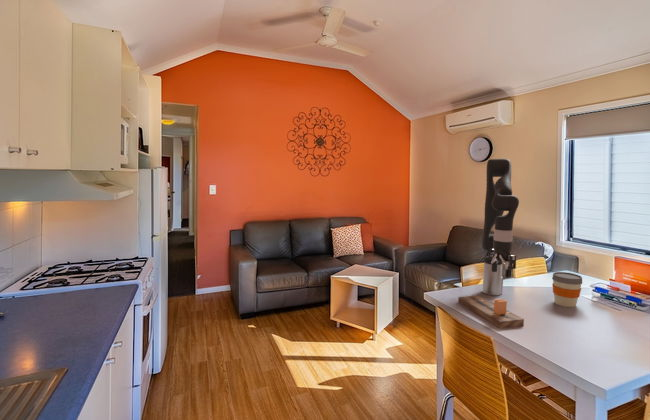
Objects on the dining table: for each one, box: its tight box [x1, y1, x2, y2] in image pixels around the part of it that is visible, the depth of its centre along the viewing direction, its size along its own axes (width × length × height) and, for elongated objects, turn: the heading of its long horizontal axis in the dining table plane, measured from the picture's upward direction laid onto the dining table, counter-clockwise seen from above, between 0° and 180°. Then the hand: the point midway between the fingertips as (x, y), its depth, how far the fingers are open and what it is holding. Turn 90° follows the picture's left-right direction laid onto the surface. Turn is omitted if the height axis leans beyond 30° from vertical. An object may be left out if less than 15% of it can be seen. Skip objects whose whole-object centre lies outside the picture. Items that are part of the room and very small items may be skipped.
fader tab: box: [493, 298, 508, 315], centre depth 153 cm, size 4×3×6 cm
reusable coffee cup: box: [551, 271, 583, 308], centre depth 172 cm, size 12×13×15 cm
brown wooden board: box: [457, 294, 525, 329], centre depth 161 cm, size 12×30×3 cm, turn 12°
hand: (500, 274), depth 153 cm, fingers open, 8 cm apart
